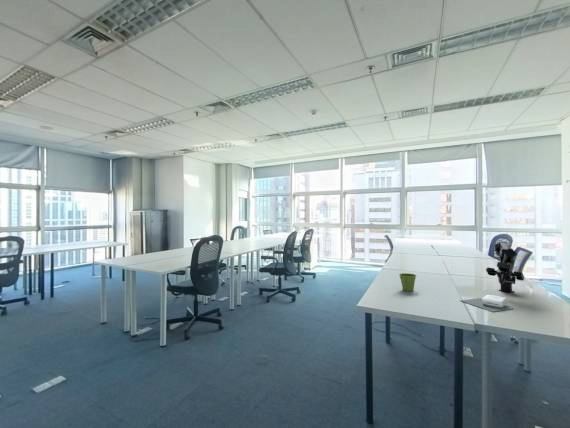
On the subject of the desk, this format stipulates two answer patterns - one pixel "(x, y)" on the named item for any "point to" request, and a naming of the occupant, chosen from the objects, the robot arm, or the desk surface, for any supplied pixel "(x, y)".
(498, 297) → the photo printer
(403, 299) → the desk surface
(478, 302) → the mat
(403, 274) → the plant pot
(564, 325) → the desk surface
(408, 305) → the desk surface
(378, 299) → the desk surface
